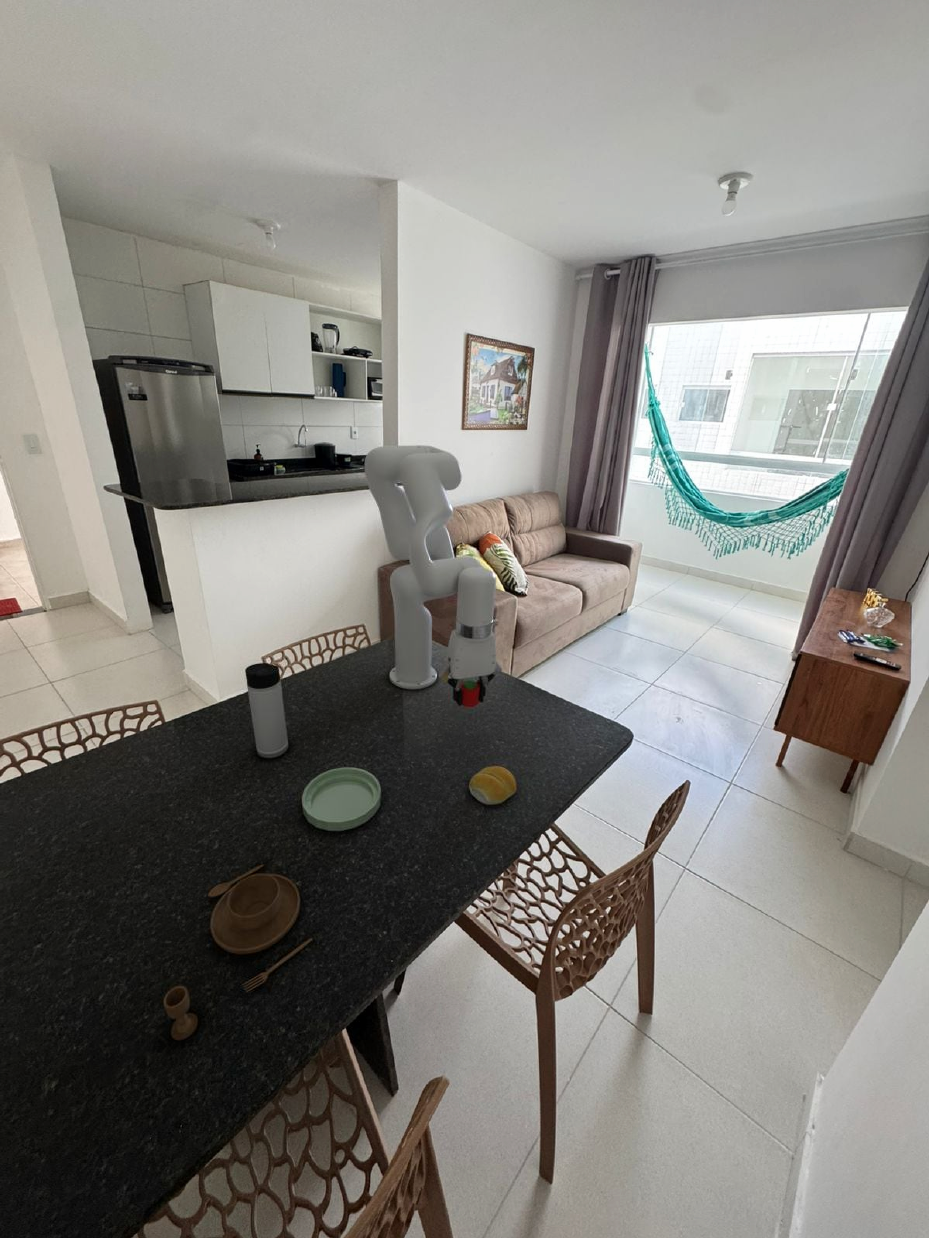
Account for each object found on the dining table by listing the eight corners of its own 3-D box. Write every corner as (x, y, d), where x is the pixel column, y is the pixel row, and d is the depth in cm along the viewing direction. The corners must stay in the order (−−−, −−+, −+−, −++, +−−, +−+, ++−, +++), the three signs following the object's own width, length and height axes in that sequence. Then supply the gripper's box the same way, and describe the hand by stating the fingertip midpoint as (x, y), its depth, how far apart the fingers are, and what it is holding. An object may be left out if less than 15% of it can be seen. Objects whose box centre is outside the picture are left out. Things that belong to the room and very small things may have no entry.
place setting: (328, 931, 72) (325, 902, 70) (178, 1050, 59) (168, 1019, 56) (267, 858, 83) (263, 831, 81) (128, 944, 69) (118, 915, 67)
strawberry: (456, 697, 115) (457, 680, 113) (474, 694, 116) (475, 677, 114) (462, 708, 111) (463, 690, 109) (481, 705, 113) (482, 687, 111)
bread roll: (523, 789, 100) (525, 772, 99) (493, 812, 94) (495, 796, 93) (491, 768, 105) (492, 752, 104) (461, 789, 99) (462, 773, 98)
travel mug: (249, 754, 106) (235, 670, 98) (271, 736, 112) (260, 656, 104) (273, 763, 104) (261, 678, 96) (294, 744, 110) (285, 662, 102)
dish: (300, 786, 98) (299, 775, 97) (373, 771, 103) (373, 761, 102) (306, 841, 86) (304, 830, 85) (387, 822, 91) (387, 811, 90)
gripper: (503, 615, 112) (496, 686, 120) (429, 623, 106) (427, 697, 114) (518, 630, 105) (510, 704, 113) (440, 639, 100) (437, 716, 108)
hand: (468, 700), depth 114 cm, fingers closed on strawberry, 4 cm apart
